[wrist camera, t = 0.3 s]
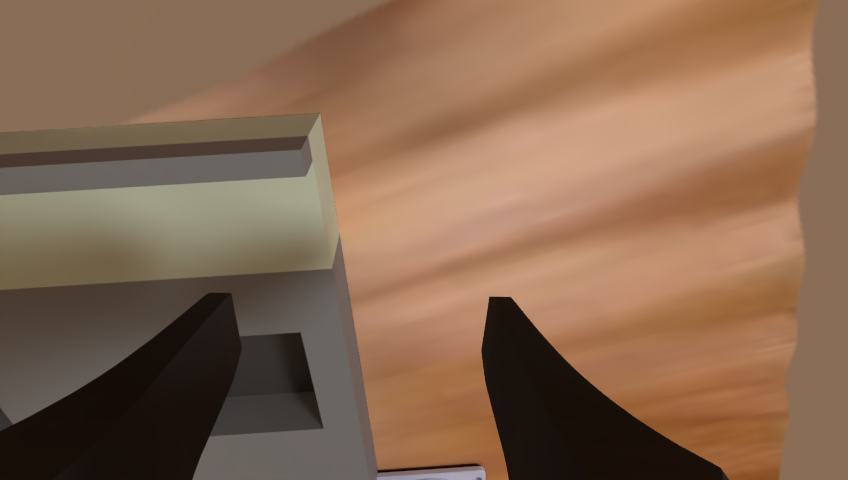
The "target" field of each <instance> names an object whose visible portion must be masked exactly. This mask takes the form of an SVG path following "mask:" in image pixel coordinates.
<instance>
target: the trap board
mask: <svg viewBox="0 0 848 480" xmlns="http://www.w3.org/2000/svg"><path fill="white" fill-rule="evenodd" d="M208 293H231V294H232V299H233V304H234V310H235V315H236V320H237V325H238V330H239V336H240V341H241V346H242V351H241V354H240V358H239V362H238V366H237V369H236V373H235V376H234V379H233V383H232V385H231V387H230V390H229V392H228V395H227V397H226V399H225V402H224V404H223V406H222V409H221V411H220V413H219V416H218V418H217V420H216V423H215V425H214V427H213V430H212V432H211V434H210V436H209V439H208V441H207V443H206V446H205V448H204V450H203V453H202V455H201V457H200V460H199V463H198V465H197V468H196V471H195V473H194V476H193V480H377V473H378V470H377V464H376V458H375V452H374V446H373V439H372V433H371V427H370V421H369V415H368V408H367V402H366V396H365V390H364V384H363V377H362V371H361V365H360V359H359V353H358V346H357V340H356V334H355V328H354V322H353V315H352V309H351V303H350V297H349V291H348V284H347V278H346V272H345V266H344V260H343V253H342V247H341V241H340V235H339V229H338V222H337V216H336V210H335V204H334V198H333V191H332V185H331V179H330V173H329V166H328V160H327V154H326V148H325V142H324V135H323V129H322V123H321V117H320V113H318V114H302V115H285V116H268V117H251V118H235V119H218V120H201V121H185V122H168V123H151V124H134V125H118V126H101V127H84V128H69V129H68V128H67V129H51V130H34V131H19V132H1V133H0V431H1V430H3V429H5V428H7V427H9V426H11V425H13V424H15V423H17V422H19V421H21V420H23V419H25V418H27V417H29V416H31V415H33V414H35V413H37V412H38V411H40V410H42V409H44V408H46V407H48V406H49V405H51V404H53V403H55V402H57V401H59V400H60V399H62V398H64V397H66V396H68V395H69V394H71V393H73V392H75V391H76V390H78V389H80V388H81V387H83V386H84V385H86V384H88V383H89V382H91V381H92V380H94V379H96V378H97V377H99V376H100V375H102V374H103V373H105V372H106V371H108V370H109V369H111V368H112V367H114V366H115V365H117V364H118V363H120V362H121V361H122V360H124V359H125V358H126V357H128V356H129V355H130V354H132V353H133V352H134V351H136V350H137V349H139V348H140V347H141V346H143V345H144V344H145V343H147V342H148V341H149V340H151V339H152V338H153V337H155V336H156V335H157V334H158V333H160V332H161V331H162V330H163V329H165V328H166V327H167V326H168V325H169V324H171V323H172V322H173V321H174V320H176V319H177V318H178V317H179V316H181V315H182V314H183V313H184V312H185V311H187V310H188V309H189V308H190V307H191V306H193V305H194V304H195V303H196V302H197V301H199V300H200V299H201V298H202V297H204V296H205V295H206V294H208Z"/></svg>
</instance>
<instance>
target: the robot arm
mask: <svg viewBox="0 0 848 480" xmlns="http://www.w3.org/2000/svg"><path fill="white" fill-rule="evenodd" d="M241 351H242V346H241V341H240V336H239V330H238V325H237V320H236V315H235V310H234V304H233V299H232V294H231V293H208V294H206V295H205V296H204V297H202V298H201V299H200V300H199V301H197V302H196V303H195V304H194V305H193V306H191V307H190V308H189V309H188V310H187V311H185V312H184V313H183V314H182V315H181V316H179V317H178V318H177V319H176V320H174V321H173V322H172V323H171V324H169V325H168V326H167V327H166V328H165V329H163V330H162V331H161V332H160V333H158V334H157V335H156V336H155V337H153V338H152V339H151V340H149V341H148V342H147V343H145V344H144V345H143V346H141V347H140V348H139V349H137V350H136V351H134V352H133V353H132V354H130V355H129V356H128V357H126V358H125V359H124V360H122V361H121V362H120V363H118V364H117V365H115V366H114V367H112V368H111V369H109V370H108V371H106V372H105V373H103V374H102V375H100V376H99V377H97V378H96V379H94V380H92V381H91V382H89V383H88V384H86V385H84V386H83V387H81V388H80V389H78V390H76V391H75V392H73V393H71V394H69V395H68V396H66V397H64V398H62V399H60V400H59V401H57V402H55V403H53V404H51V405H49V406H48V407H46V408H44V409H42V410H40V411H38V412H37V413H35V414H33V415H31V416H29V417H27V418H25V419H23V420H21V421H19V422H17V423H15V424H13V425H11V426H9V427H7V428H5V429H3V430H1V431H0V480H193V476H194V473H195V471H196V468H197V465H198V463H199V460H200V457H201V455H202V453H203V450H204V448H205V446H206V443H207V441H208V439H209V436H210V434H211V432H212V430H213V427H214V425H215V423H216V420H217V418H218V416H219V413H220V411H221V409H222V406H223V404H224V402H225V399H226V397H227V395H228V392H229V390H230V387H231V385H232V383H233V379H234V376H235V373H236V369H237V366H238V362H239V358H240V354H241ZM481 351H482V359H483V367H484V375H485V382H486V386H487V390H488V394H489V398H490V402H491V406H492V410H493V414H494V418H495V421H496V425H497V429H498V433H499V437H500V441H501V445H502V448H503V452H504V457H505V461H506V466H507V471H508V477H509V480H729V479H728V478H727V476H726V475H725V473H724V472H723V471H722V469H721V468H720V467H718V466H716V465H714V464H713V463H711V462H709V461H707V460H705V459H703V458H701V457H700V456H698V455H696V454H694V453H692V452H690V451H689V450H687V449H685V448H683V447H681V446H679V445H678V444H676V443H674V442H672V441H671V440H669V439H668V438H666V437H664V436H663V435H661V434H660V433H658V432H656V431H655V430H653V429H651V428H650V427H648V426H647V425H645V424H644V423H642V422H641V421H639V420H638V419H636V418H635V417H634V416H632V415H631V414H629V413H628V412H627V411H625V410H624V409H623V408H621V407H620V406H618V405H617V404H616V403H614V402H613V401H612V400H610V399H609V398H608V397H607V396H605V395H604V394H603V393H602V392H600V391H599V390H598V389H597V388H596V387H594V386H593V385H592V384H591V383H590V382H589V381H587V380H586V379H585V378H584V377H583V376H582V375H581V374H579V373H578V372H577V371H576V370H575V369H574V368H573V367H572V366H571V365H570V364H569V363H568V362H567V361H566V360H565V359H564V358H563V357H562V356H561V355H560V354H559V353H558V352H557V351H556V350H555V349H554V347H553V346H552V345H551V344H550V343H549V342H548V341H547V340H546V339H545V337H544V336H543V335H542V334H541V333H540V332H539V331H538V329H537V328H536V327H535V326H534V325H533V323H532V322H531V321H530V320H529V319H528V317H527V316H526V315H525V314H524V313H523V311H522V310H521V309H520V308H519V306H518V305H517V304H516V303H515V301H514V300H513V299H512V298H511V297H489V304H488V310H487V317H486V324H485V330H484V337H483V344H482V350H481ZM485 476H486V474H485V469H484V468H483V467H481V466H471V467H456V468H442V469H427V470H413V471H398V472H384V473H377V480H485Z"/></svg>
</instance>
